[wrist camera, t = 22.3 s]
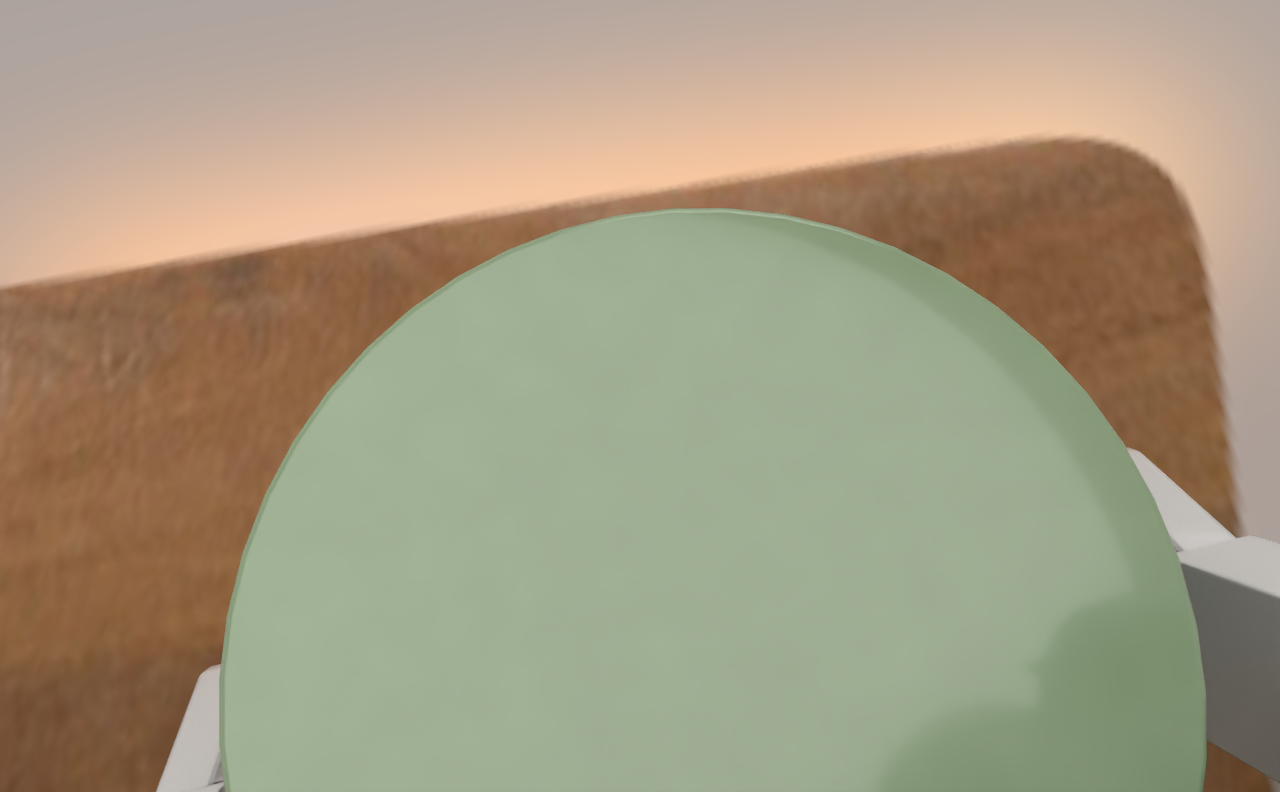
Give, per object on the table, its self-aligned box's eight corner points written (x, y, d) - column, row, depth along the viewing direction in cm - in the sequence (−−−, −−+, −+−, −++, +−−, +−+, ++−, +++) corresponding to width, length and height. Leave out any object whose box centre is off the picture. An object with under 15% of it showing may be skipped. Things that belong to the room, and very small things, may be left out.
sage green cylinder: (854, 420, 16) (1040, 132, 7) (967, 860, 14) (1372, 1123, 6) (450, 497, 16) (187, 292, 7) (511, 948, 14) (250, 1344, 6)
